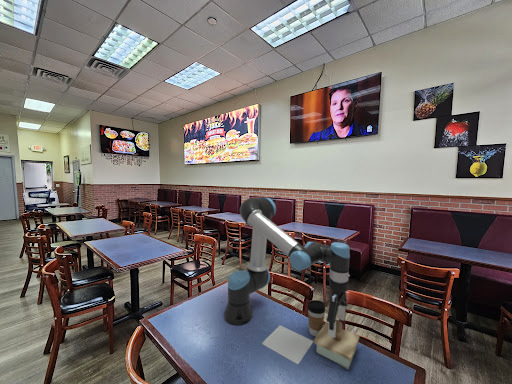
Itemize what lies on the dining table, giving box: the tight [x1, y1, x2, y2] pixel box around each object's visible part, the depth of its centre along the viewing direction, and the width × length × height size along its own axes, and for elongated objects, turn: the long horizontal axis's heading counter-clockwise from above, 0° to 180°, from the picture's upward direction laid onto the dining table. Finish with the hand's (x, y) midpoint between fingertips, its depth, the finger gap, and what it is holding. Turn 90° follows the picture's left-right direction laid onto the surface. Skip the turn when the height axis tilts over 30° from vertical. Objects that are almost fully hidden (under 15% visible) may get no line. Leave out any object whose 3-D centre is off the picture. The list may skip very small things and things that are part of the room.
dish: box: [315, 344, 357, 371], centre depth 94 cm, size 13×13×5 cm
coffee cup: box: [306, 299, 326, 337], centre depth 105 cm, size 8×8×15 cm
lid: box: [313, 319, 360, 361], centre depth 93 cm, size 15×15×8 cm
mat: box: [261, 324, 314, 365], centre depth 98 cm, size 18×16×1 cm
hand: (336, 327), depth 93 cm, fingers open, 13 cm apart
